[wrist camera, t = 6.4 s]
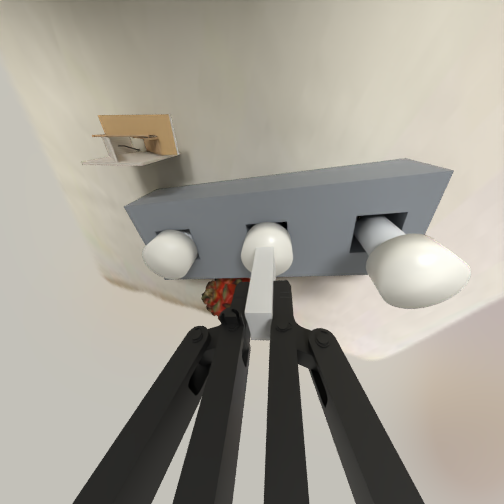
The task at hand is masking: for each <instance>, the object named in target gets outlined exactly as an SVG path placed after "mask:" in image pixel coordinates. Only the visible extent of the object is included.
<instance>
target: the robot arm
mask: <svg viewBox="0 0 504 504" xmlns="http://www.w3.org/2000/svg"><path fill="white" fill-rule="evenodd" d="M219 319H220V322H221V325H219V326H217V327H214V328H210V329H207V328H206V327H204V326H197V327H194V328H193V329H191V330H190V331H189V332H188V333H187V335H186V337H185V338H184V340H183V341H182V342H181V344H180V345H179V347H178V348H177V350H176V351H175V353H174V354H173V356H172V357H171V359H170V360H169V362H168V363H167V365H166V366H165V367H164V369H163V371H162V372H161V373H160V375H159V376H158V378H157V379H156V381H155V382H154V384H153V385H152V387H151V388H150V390H149V391H148V393H147V394H146V396H145V397H144V399H143V400H142V401H141V403H140V405H139V406H138V408H137V409H136V410H135V412H134V413H133V415H132V416H131V418H130V419H129V421H128V422H127V424H126V425H125V427H124V428H123V430H122V431H121V433H120V434H119V436H118V437H117V438H116V440H115V441H114V443H113V444H112V446H111V447H110V449H109V450H108V452H107V453H106V455H105V456H104V458H103V459H102V461H101V462H100V464H99V465H98V467H97V468H96V470H95V471H94V473H93V474H92V475H91V477H90V478H89V480H88V482H87V483H86V484H85V486H84V487H83V489H82V490H81V492H80V493H79V495H78V496H77V498H76V499H75V501H74V502H73V504H151V503H152V501H153V499H154V497H155V495H156V493H157V490H158V488H159V486H160V484H161V482H162V480H163V478H164V476H165V474H166V471H167V469H168V467H169V465H170V463H171V461H172V459H173V456H174V454H175V452H176V450H177V448H178V446H179V444H180V442H181V440H182V438H183V435H184V433H185V431H186V429H187V427H188V425H189V423H190V421H191V419H192V416H193V414H194V412H195V410H196V408H197V406H198V404H199V402H200V399H201V397H202V399H201V403H200V407H199V410H198V414H197V417H196V421H195V425H194V428H193V432H192V435H191V439H190V442H189V446H188V450H187V453H186V457H185V460H184V464H183V468H182V471H181V475H180V479H179V482H178V486H177V489H176V494H175V497H174V500H173V504H232V501H233V492H234V484H235V475H236V467H237V459H238V450H239V442H240V433H241V424H242V417H243V408H244V399H245V391H246V383H247V374H248V366H249V358H250V336H251V340H270V355H269V380H268V382H269V383H268V406H267V433H266V459H265V485H264V487H265V488H264V504H309V494H308V482H307V470H306V457H305V446H304V434H303V422H302V409H301V399H300V398H301V397H300V386H299V373H298V364H299V365H302V366H304V367H306V368H308V369H309V371H310V374H311V377H312V380H313V383H314V385H315V388H316V391H317V394H318V397H319V400H320V403H321V405H322V408H323V411H324V414H325V417H326V420H327V423H328V426H329V428H330V431H331V434H332V437H333V440H334V443H335V445H336V448H337V451H338V454H339V457H340V460H341V463H342V466H343V468H344V471H345V474H346V477H347V480H348V483H349V485H350V488H351V491H352V494H353V497H354V499H355V502H356V504H424V502H423V500H422V498H421V496H420V494H419V492H418V490H417V489H416V487H415V485H414V483H413V481H412V479H411V477H410V476H409V474H408V472H407V470H406V468H405V466H404V464H403V462H402V461H401V459H400V457H399V455H398V453H397V451H396V449H395V448H394V446H393V444H392V442H391V440H390V438H389V436H388V435H387V433H386V431H385V429H384V427H383V425H382V423H381V422H380V420H379V418H378V416H377V414H376V412H375V410H374V409H373V407H372V405H371V403H370V401H369V399H368V397H367V395H366V394H365V392H364V390H363V388H362V386H361V384H360V383H359V381H358V379H357V377H356V375H355V373H354V371H353V370H352V368H351V366H350V364H349V362H348V360H347V358H346V356H345V355H344V353H343V351H342V349H341V347H340V345H339V343H338V342H337V340H336V338H335V336H334V335H333V334H332V333H331V332H330V331H328V330H326V329H323V328H317V329H314V330H312V331H311V330H308V329H305V328H303V327H301V326H299V325H298V324H297V323H296V322H295V320H294V316H293V305H292V293H291V285H290V284H289V282H288V281H287V280H285V281H276V268H275V256H274V247H259V248H256V251H255V256H254V262H253V268H252V273H251V279H250V282H239V283H238V284H237V286H236V287H235V291H234V295H233V299H232V302H231V306H230V307H228V308H226V309H224V310H223V311H222V312H221V313H220V315H219Z"/></svg>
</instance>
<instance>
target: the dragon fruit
mask: <svg viewBox="0 0 504 504" xmlns="http://www.w3.org/2000/svg"><path fill="white" fill-rule="evenodd" d="M250 279H251V278H215V281H211V282H208V284H207V286H206V290H205V292H204V293H203V294H202V298H201V299H202V300H203V302H204V304H208V305H207V306H206V308H207V310H208V311H210V312H211V313H212V315H213V316H215V315H217V316H218V319H219V315H220V313H221V312H222V311H223V310H224V309H226V308H228V307H230V306H231V302H232V299H233V295H234V291H235V287H236V286H237V284H238V283H239V282H250ZM219 320H220V319H219Z"/></svg>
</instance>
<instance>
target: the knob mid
mask: <svg viewBox="0 0 504 504" xmlns="http://www.w3.org/2000/svg"><path fill="white" fill-rule="evenodd" d="M259 247H274V256H275V268H276V276H278V275H280V274H282V273H284V272H285V271H287V270H288V269H289V267H290V266H291V264H292V261H293V252H292V244H291V237H290V235H289V233H288V231H287V230H286V229H285V228H284V227H282V222H262V223H259V224H256V225H255V226H253V227H252V228H251V229H250V230H249V231H248V232H247V234H246V237H245V241H244V244H243V248H242V251H241V260H242V263H243V264H244V266H245V267H246V268H247V269H248V270H249V271H250V272H251V273H252V268H253V262H254V256H255V251H256V248H259Z"/></svg>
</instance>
